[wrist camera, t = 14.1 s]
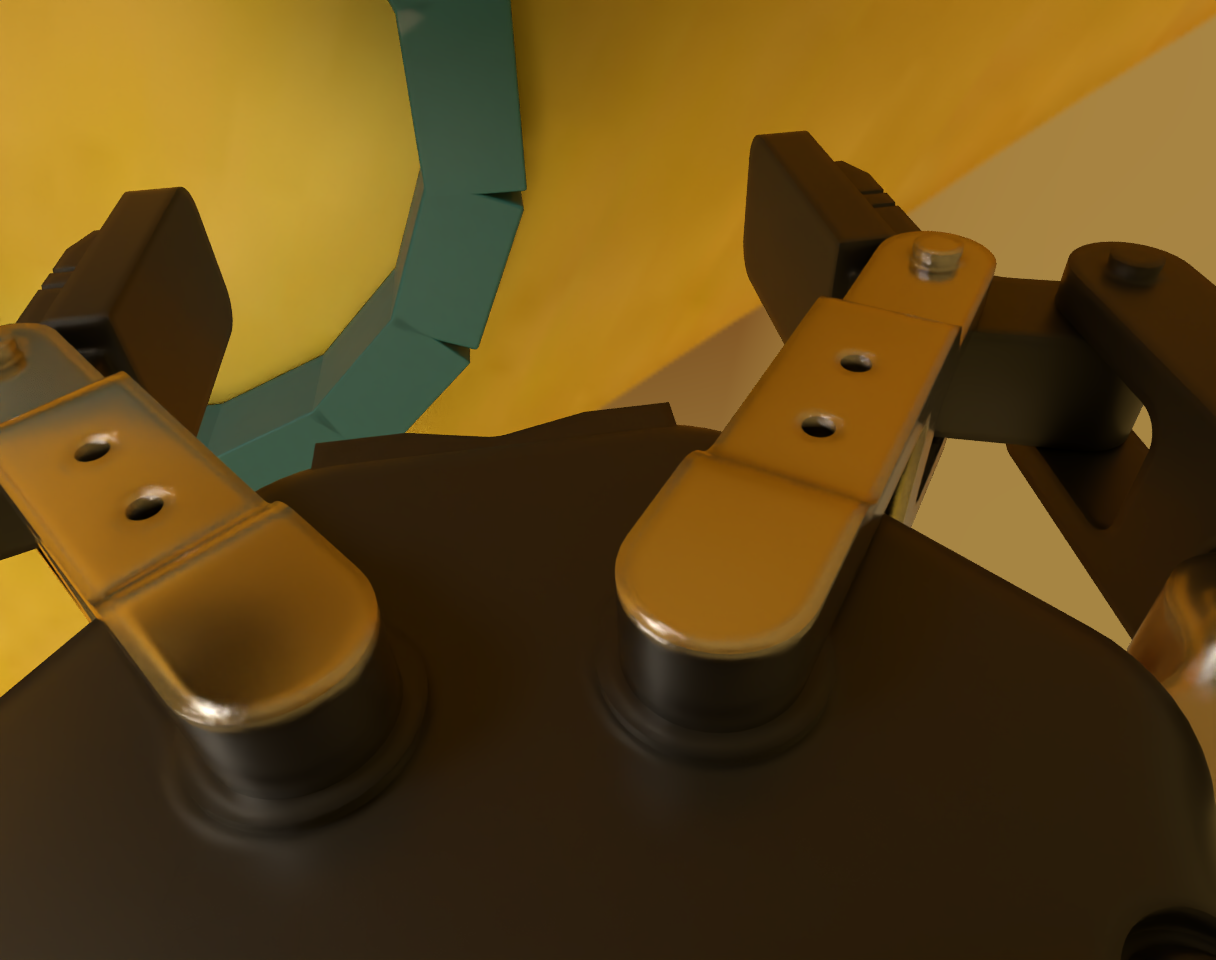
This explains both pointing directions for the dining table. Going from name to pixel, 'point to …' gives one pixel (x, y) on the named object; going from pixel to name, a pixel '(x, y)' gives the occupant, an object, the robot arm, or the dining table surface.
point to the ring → (409, 257)
